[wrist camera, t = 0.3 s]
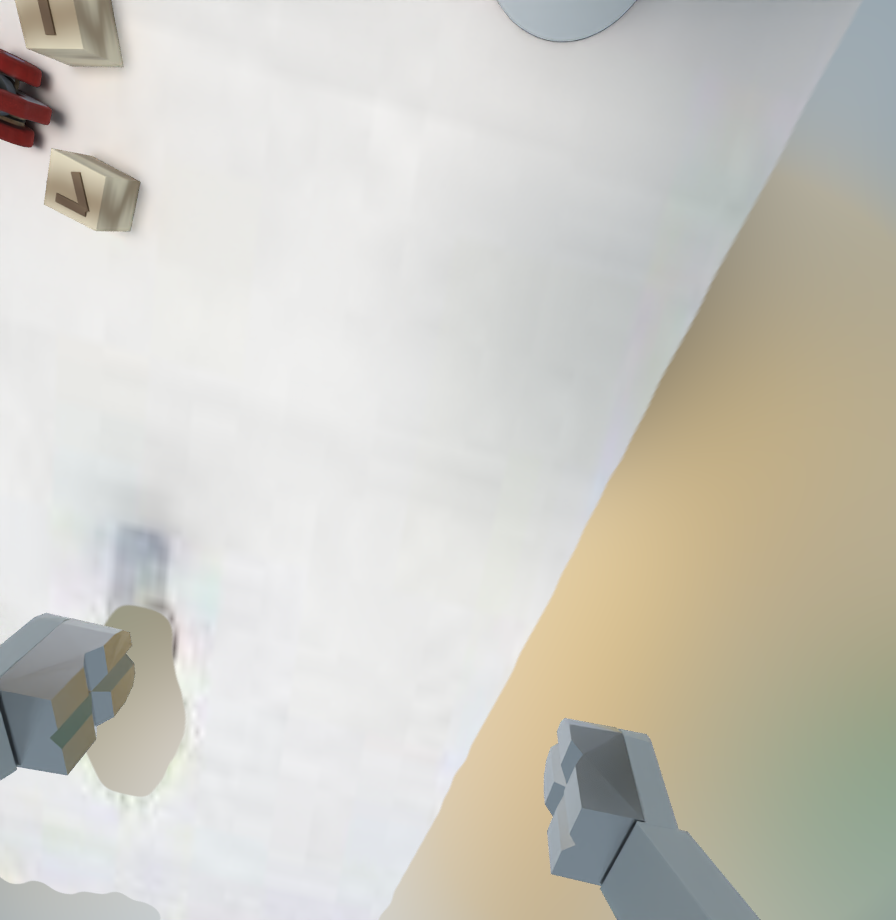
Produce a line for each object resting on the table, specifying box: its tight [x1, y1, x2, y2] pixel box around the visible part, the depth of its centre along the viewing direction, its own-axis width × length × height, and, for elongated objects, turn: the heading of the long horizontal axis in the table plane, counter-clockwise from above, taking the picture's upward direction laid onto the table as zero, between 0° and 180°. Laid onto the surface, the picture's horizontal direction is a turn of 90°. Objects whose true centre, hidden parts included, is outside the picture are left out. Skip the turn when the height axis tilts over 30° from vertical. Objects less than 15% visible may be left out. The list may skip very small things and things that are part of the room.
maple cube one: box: [15, 0, 123, 67], centre depth 43 cm, size 5×5×5 cm
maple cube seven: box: [44, 148, 140, 231], centre depth 49 cm, size 5×5×5 cm
